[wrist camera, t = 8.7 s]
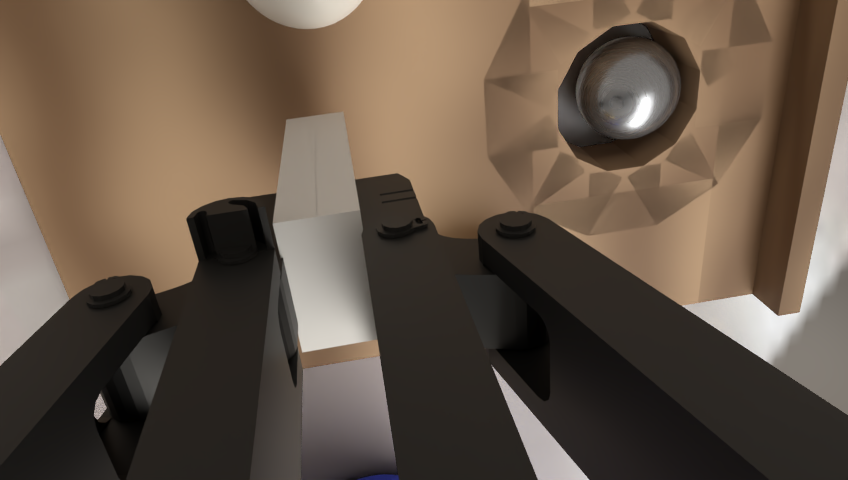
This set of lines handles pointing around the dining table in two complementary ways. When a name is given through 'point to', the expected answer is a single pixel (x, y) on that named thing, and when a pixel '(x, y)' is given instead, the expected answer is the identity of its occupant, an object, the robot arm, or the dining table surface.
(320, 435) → the dining table surface
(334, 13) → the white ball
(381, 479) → the mug
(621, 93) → the steel ball
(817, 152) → the deck
